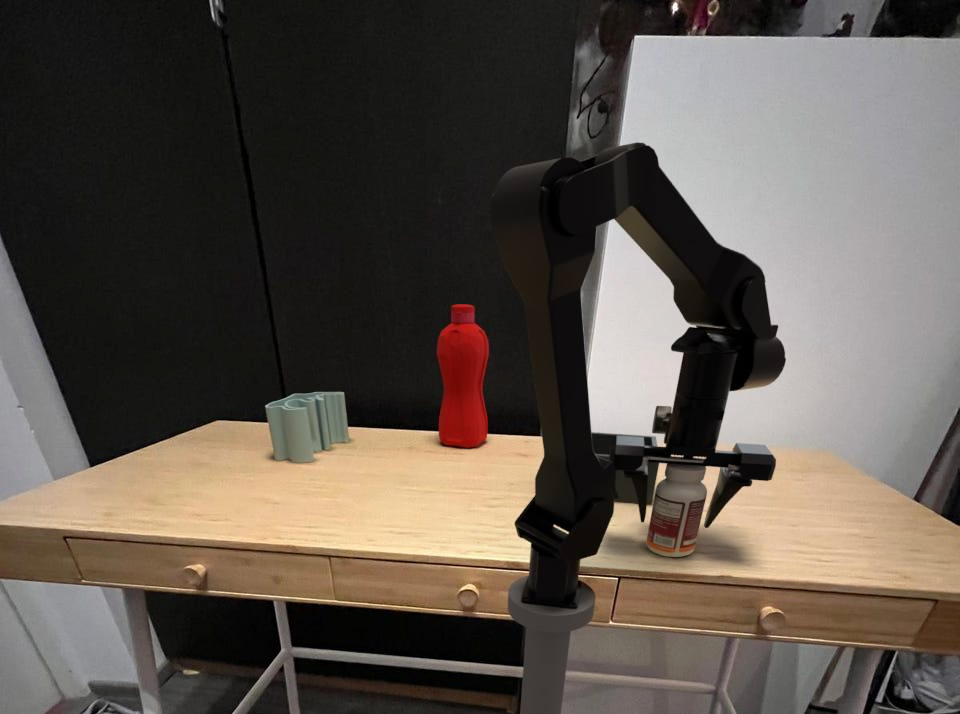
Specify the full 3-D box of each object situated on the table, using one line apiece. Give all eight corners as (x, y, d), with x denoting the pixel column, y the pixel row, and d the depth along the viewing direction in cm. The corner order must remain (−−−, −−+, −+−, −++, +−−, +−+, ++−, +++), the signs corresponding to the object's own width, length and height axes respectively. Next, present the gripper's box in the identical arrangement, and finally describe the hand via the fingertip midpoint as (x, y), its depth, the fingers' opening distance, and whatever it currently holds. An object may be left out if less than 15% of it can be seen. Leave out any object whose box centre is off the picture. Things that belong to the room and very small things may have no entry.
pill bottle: (684, 539, 78) (703, 458, 72) (700, 558, 73) (721, 473, 66) (639, 539, 78) (654, 458, 71) (652, 558, 72) (669, 473, 66)
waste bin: (651, 504, 89) (659, 459, 85) (558, 496, 91) (562, 452, 88) (648, 476, 101) (655, 436, 97) (566, 470, 103) (570, 430, 99)
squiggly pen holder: (307, 437, 121) (299, 390, 115) (351, 439, 119) (346, 392, 114) (268, 461, 106) (257, 408, 101) (318, 464, 105) (310, 410, 99)
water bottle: (494, 438, 122) (498, 303, 108) (475, 450, 114) (476, 306, 100) (455, 433, 125) (454, 302, 111) (433, 445, 116) (429, 304, 103)
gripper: (773, 386, 69) (739, 508, 78) (619, 379, 73) (603, 497, 81) (795, 405, 60) (754, 540, 69) (617, 396, 64) (600, 526, 72)
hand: (674, 524), depth 73 cm, fingers closed on pill bottle, 8 cm apart
